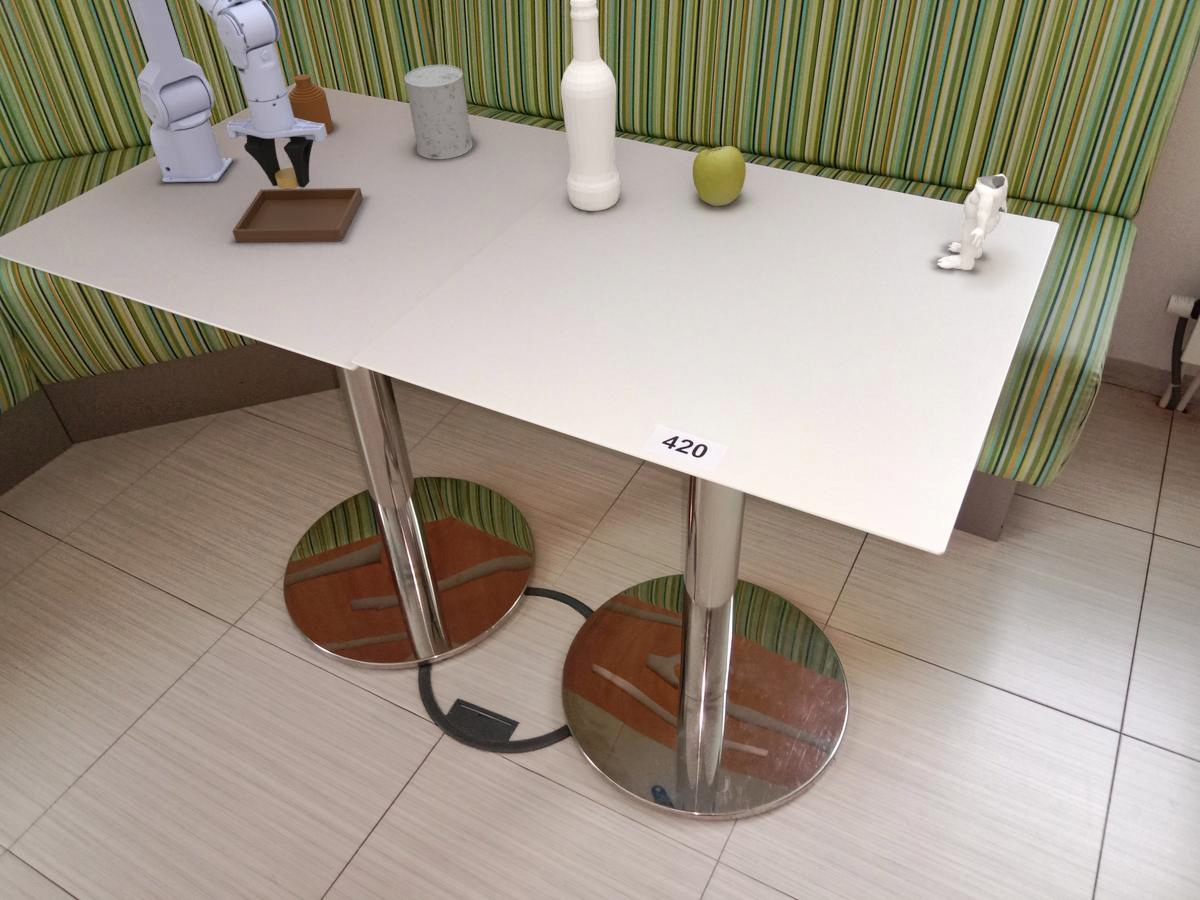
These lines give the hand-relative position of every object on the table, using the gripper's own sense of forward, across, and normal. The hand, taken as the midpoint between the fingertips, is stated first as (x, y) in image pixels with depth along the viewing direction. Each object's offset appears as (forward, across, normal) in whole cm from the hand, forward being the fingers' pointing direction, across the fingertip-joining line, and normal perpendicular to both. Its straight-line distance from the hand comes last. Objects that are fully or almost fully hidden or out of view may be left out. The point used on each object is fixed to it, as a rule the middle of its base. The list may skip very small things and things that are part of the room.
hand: (291, 183), depth 145 cm
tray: (+6, 0, 0) cm, 6 cm away
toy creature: (+6, -98, +1) cm, 98 cm away
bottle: (+6, -44, -11) cm, 46 cm away
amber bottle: (+6, +11, -32) cm, 34 cm away
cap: (-1, 0, 0) cm, 1 cm away
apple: (+6, -63, -14) cm, 64 cm away
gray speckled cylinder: (+6, -14, -27) cm, 31 cm away
